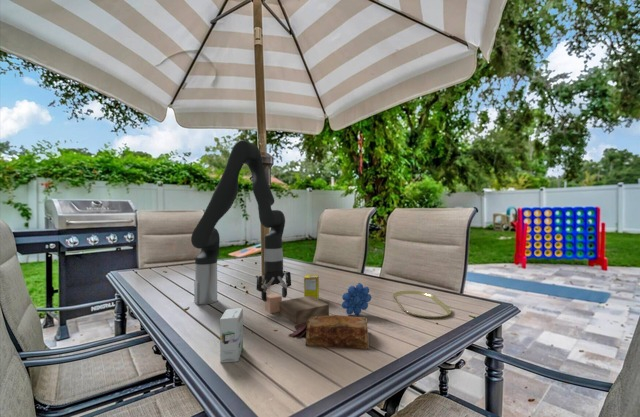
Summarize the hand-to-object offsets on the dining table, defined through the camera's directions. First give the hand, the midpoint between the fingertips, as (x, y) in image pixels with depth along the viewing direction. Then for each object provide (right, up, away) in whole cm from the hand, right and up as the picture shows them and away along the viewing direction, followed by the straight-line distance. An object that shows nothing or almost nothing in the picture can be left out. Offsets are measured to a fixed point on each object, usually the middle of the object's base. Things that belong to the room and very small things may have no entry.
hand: (274, 299), depth 120 cm
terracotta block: (0, -5, 0) cm, 5 cm away
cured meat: (+21, -5, -25) cm, 33 cm away
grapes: (+33, -4, -5) cm, 33 cm away
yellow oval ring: (+61, -5, +6) cm, 61 cm away
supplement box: (+15, -5, +13) cm, 20 cm away
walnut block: (+12, -5, -6) cm, 14 cm away
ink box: (-6, -4, -37) cm, 38 cm away
